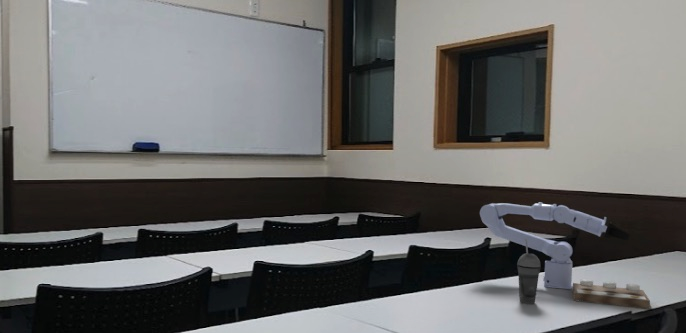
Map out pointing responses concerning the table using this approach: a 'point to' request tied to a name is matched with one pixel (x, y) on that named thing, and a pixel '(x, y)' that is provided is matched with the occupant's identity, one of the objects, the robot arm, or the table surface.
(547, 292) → the table surface
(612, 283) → the button middle
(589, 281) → the button left
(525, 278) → the beverage cup
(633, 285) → the button right
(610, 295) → the button board
